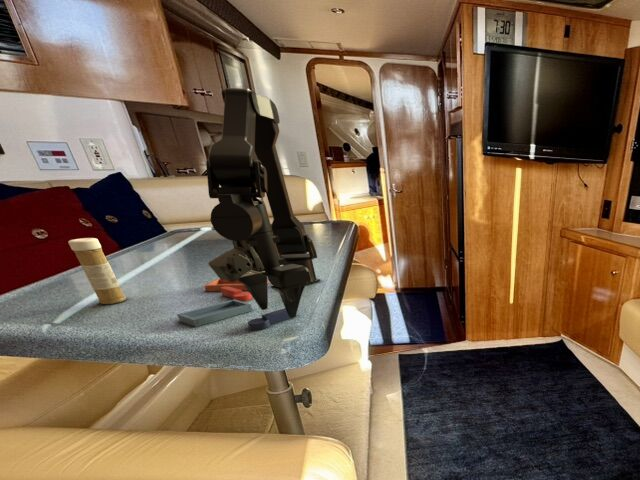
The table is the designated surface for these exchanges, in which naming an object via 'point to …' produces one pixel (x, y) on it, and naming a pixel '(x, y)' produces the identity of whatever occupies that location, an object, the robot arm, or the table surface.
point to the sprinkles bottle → (97, 270)
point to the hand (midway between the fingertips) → (278, 313)
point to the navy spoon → (268, 319)
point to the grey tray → (214, 312)
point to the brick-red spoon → (235, 293)
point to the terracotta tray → (224, 285)
